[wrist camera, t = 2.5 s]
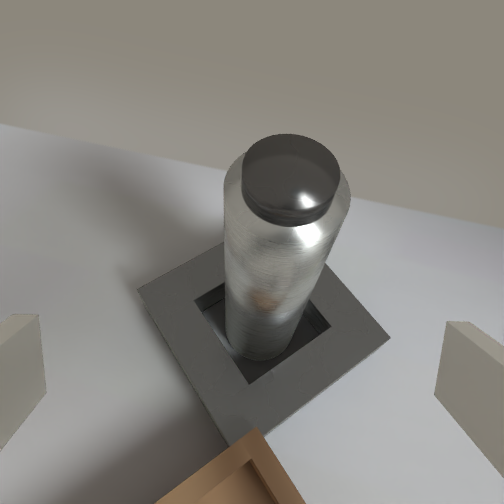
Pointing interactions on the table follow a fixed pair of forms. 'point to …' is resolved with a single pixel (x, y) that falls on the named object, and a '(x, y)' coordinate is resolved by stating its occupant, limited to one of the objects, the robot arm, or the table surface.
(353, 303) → the socket
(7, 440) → the robot arm
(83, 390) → the table surface
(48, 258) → the table surface
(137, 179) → the table surface
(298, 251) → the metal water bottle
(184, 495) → the brown wooden tray
